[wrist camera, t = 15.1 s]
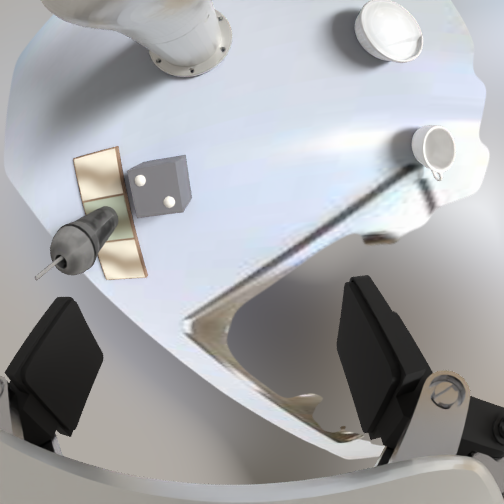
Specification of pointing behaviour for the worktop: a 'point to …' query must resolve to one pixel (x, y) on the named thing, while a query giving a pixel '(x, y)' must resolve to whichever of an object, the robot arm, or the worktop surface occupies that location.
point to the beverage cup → (81, 241)
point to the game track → (115, 196)
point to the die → (160, 186)
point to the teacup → (434, 149)
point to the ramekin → (388, 31)
